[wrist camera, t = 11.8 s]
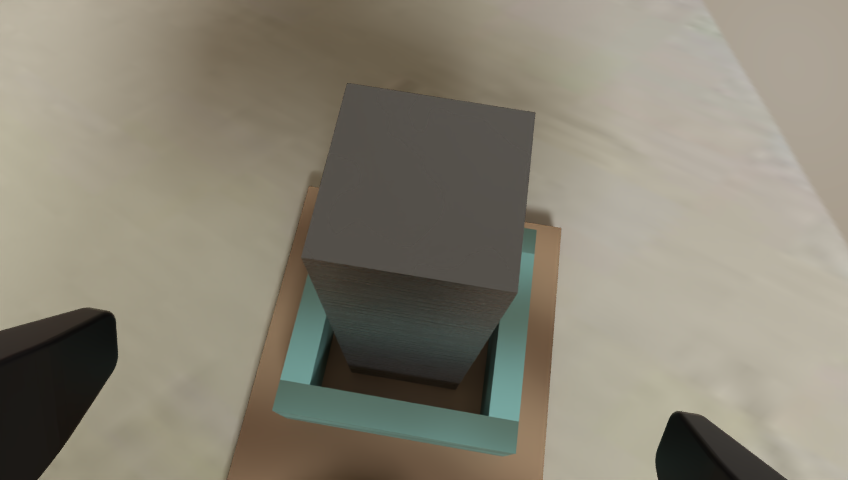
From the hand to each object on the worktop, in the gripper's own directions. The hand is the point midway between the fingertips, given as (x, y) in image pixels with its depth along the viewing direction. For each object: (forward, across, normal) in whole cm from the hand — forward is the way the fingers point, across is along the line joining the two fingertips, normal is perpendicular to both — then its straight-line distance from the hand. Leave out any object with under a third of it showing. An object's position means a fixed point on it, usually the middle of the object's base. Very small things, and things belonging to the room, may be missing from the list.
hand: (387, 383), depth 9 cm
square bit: (+12, 0, +6) cm, 13 cm away
